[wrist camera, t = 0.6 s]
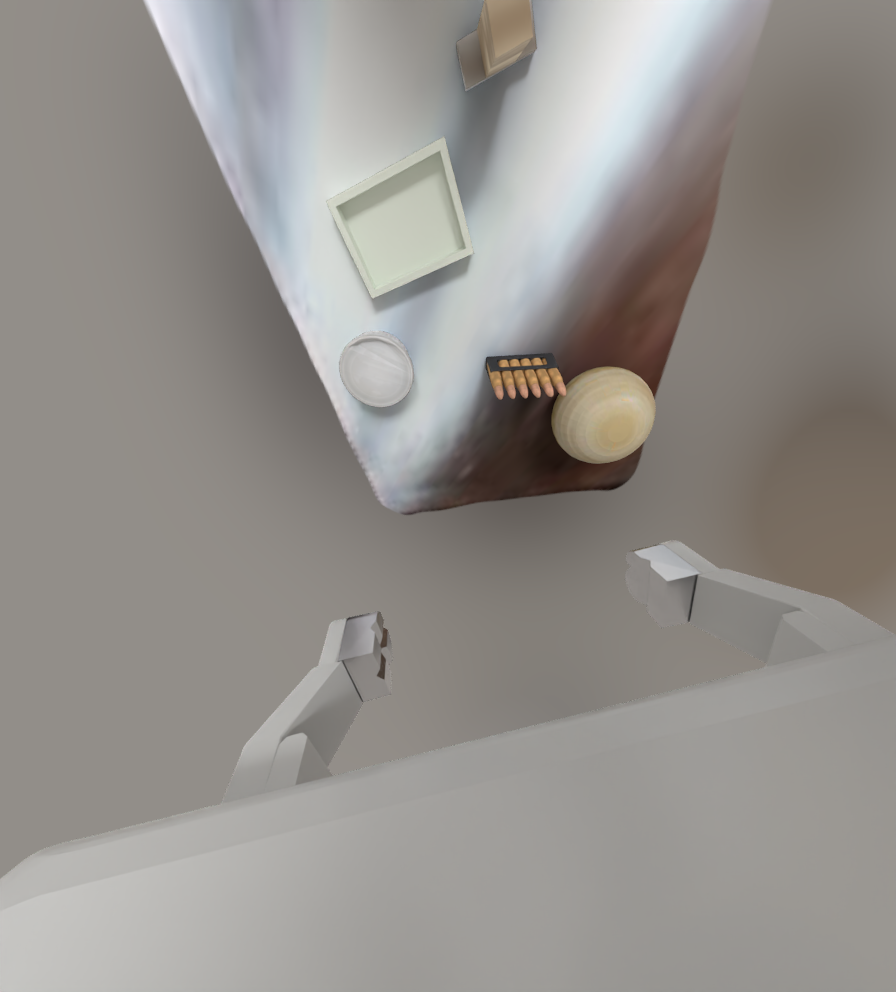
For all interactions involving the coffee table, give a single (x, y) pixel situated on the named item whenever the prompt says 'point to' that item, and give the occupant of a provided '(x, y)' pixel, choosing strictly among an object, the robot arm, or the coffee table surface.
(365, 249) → the tray
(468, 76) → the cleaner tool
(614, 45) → the coffee table surface
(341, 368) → the ramekin
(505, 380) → the ammunition clip
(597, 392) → the decorative ball
